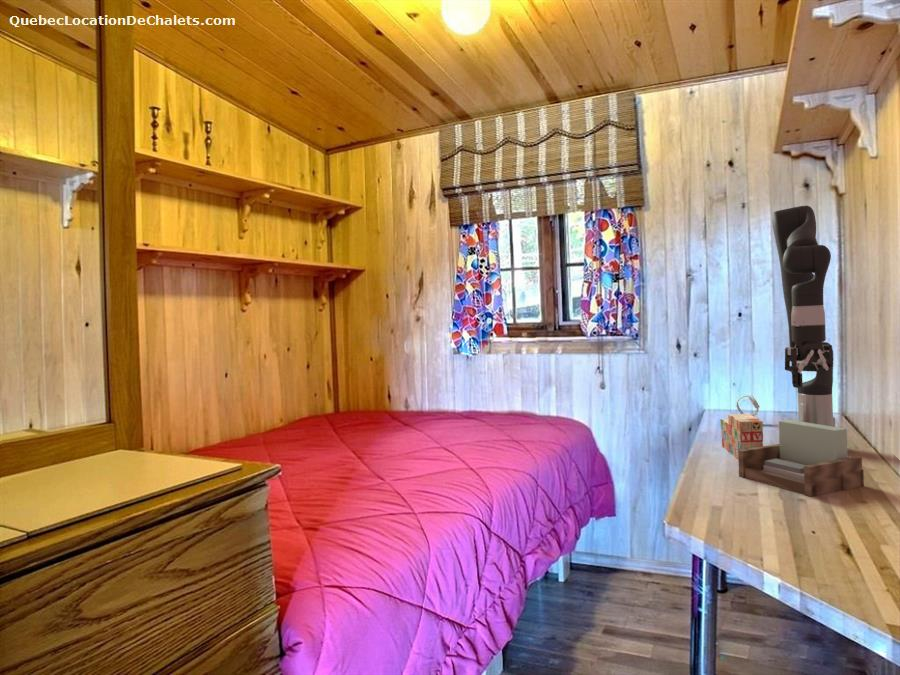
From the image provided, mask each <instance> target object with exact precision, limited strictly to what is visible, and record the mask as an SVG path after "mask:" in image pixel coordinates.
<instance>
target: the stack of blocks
mask: <svg viewBox="0 0 900 675" xmlns="http://www.w3.org/2000/svg"><path fill="white" fill-rule="evenodd" d="M727 416H728V418H720V430H721V432H720V433H721V446H722V448H723V449H725V450H726V451H727V452H728V453H730V455H732V456H733V457H735V458H736V459H737V460H738V461H739V459H738V450H743V449H749V448H756V447H762V446H764V443H763V442H764V431H763V430H764V428H763V427H764V426H763V424H764V423H763V422H764V421H763V420H761V419H759V418H758V417H756V416H755V415H754V416H752V414H751V413H743V414H741V413H729V414H728V415H727Z"/></svg>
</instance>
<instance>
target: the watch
mask: <svg viewBox="0 0 900 675" xmlns="http://www.w3.org/2000/svg"><path fill="white" fill-rule="evenodd" d="M742 398H748V399H749V400H750V402H751V404H752V405H753V406H754V408H755V409H756V411H755V412H754V413H752V414H751V415H752V416H754V417H755V416H756V415H757V414H758V412H759V410H760V409H759V408H760V405H759V403H758V401H757V400H756V399H755V397H754V396H753V395H752V396H751V395H746V394H745V395H741V396H740V397H739V398H737V400H736V405H735V406H736V409H737V411H738V412H739V414H744V411H742V410H741V408H740V406H739V401H740V400H741V399H742Z"/></svg>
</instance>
